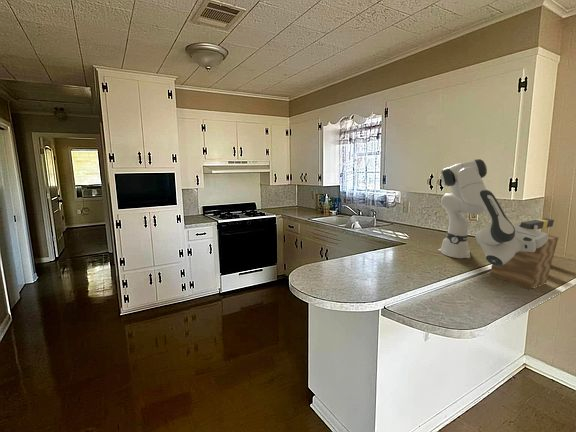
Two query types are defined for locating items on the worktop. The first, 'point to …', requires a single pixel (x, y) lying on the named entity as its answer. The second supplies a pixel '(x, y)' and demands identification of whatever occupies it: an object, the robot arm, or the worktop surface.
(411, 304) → the worktop surface
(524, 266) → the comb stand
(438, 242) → the worktop surface
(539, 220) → the dark long bar piece
